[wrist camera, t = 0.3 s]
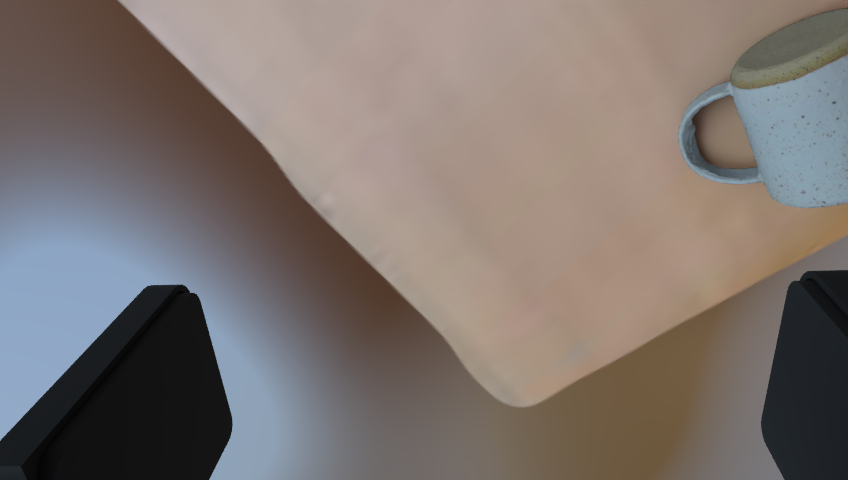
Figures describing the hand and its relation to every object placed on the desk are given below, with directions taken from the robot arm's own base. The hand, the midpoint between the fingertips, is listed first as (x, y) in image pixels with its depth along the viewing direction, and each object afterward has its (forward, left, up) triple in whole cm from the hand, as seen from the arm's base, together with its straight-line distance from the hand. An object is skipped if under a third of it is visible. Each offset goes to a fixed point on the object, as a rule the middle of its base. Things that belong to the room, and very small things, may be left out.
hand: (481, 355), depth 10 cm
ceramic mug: (+5, +16, -30) cm, 35 cm away
